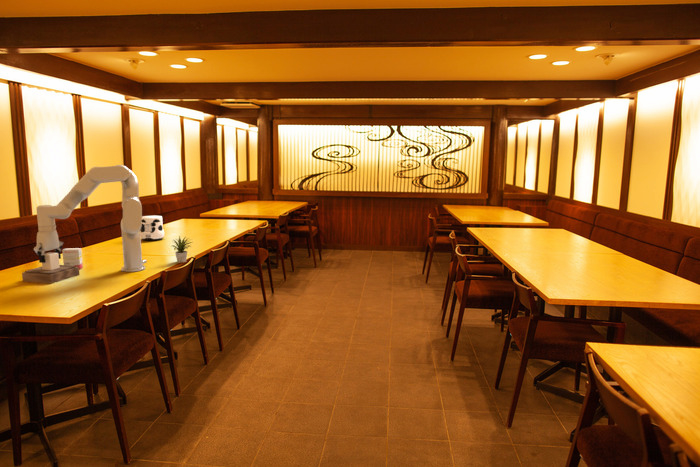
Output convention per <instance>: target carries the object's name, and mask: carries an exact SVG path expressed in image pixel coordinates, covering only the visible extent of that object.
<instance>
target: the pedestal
mask: <svg viewBox="0 0 700 467" xmlns="http://www.w3.org/2000/svg"><path fill="white" fill-rule="evenodd" d="M59 265H60V268H57V269H53V270H44V269H42V266H39V267H35V268H33V269H28V270H25V272H21V276H22V277H21V278H22V282H27V283H28V282H30V283H39V284H41V283H42V284H50V285H51V284H55V282H56V283H58V282H62V281H65V280H68V279H71V278H75V277H77V276H80V269H79V267H76V266H69V265H64V264H59Z"/></svg>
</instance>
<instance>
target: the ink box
mask: <svg viewBox="0 0 700 467" xmlns="http://www.w3.org/2000/svg"><path fill="white" fill-rule="evenodd" d="M61 252H62V261H63V265H69V266H76V267H79V270H82V268H84V267H83V266H84V265H83V254H82V253H83V252H82V248H81V247H80V248H79V247H75V248H74V247H73V248H71V247H70V248H68V247H67V248H62V249H61Z"/></svg>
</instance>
